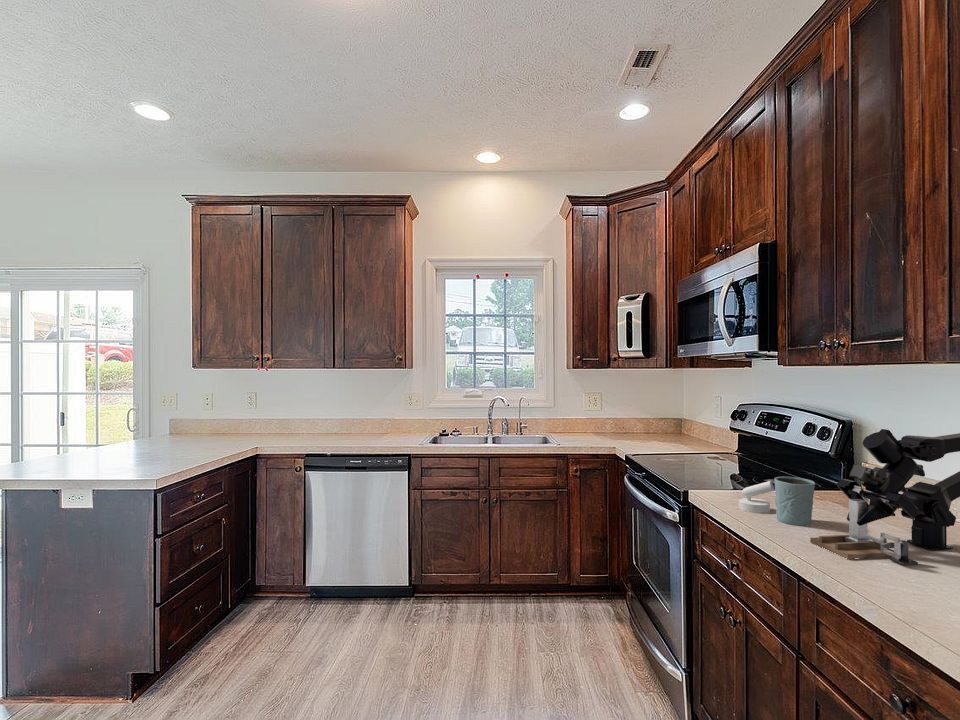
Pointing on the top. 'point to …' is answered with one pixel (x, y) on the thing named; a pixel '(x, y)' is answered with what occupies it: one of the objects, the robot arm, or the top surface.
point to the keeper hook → (904, 553)
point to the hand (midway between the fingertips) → (853, 522)
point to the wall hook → (753, 503)
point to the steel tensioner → (860, 532)
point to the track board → (850, 547)
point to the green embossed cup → (794, 500)
